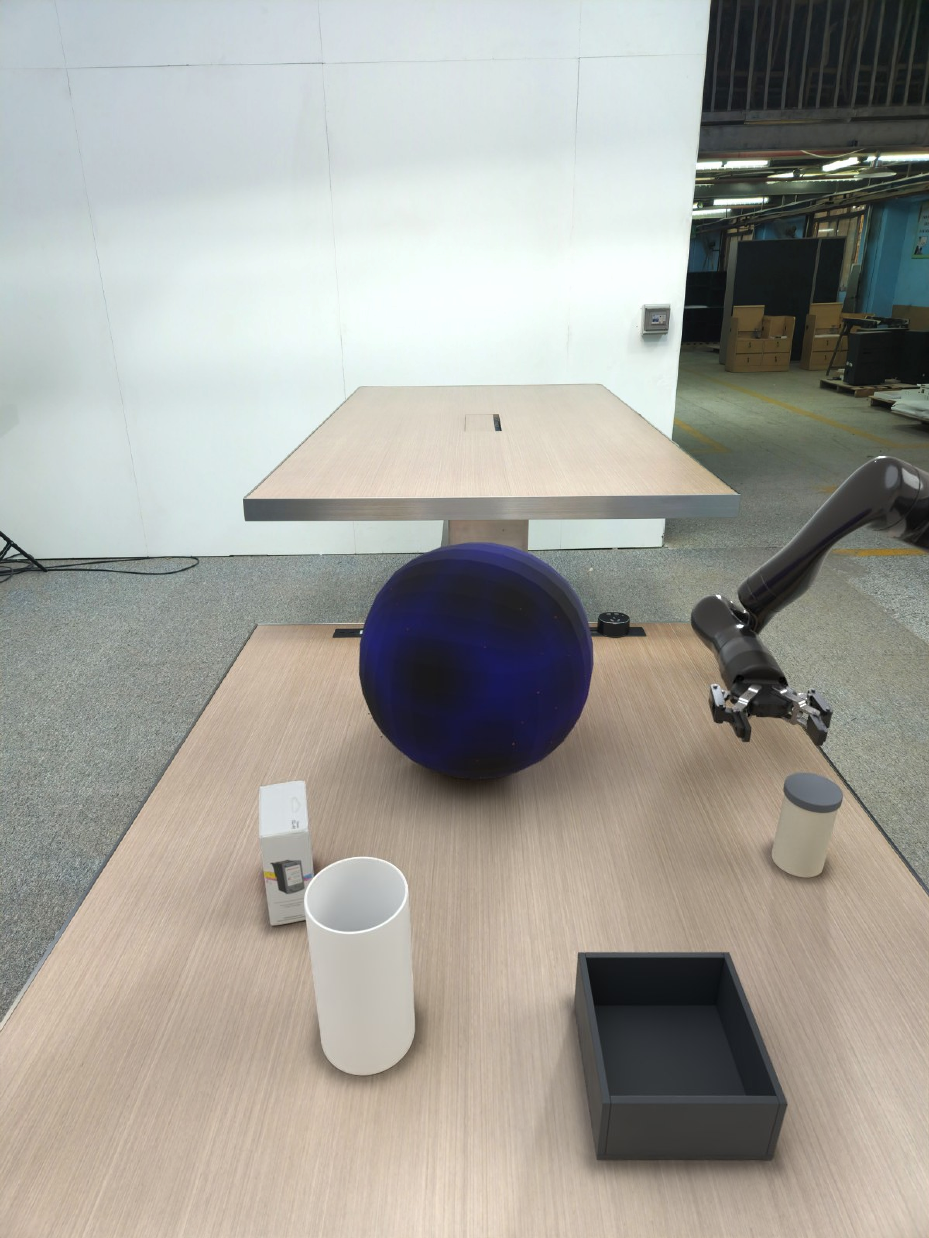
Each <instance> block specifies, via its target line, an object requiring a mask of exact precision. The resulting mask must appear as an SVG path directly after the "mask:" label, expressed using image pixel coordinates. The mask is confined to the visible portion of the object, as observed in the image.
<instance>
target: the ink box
mask: <svg viewBox="0 0 929 1238" xmlns="http://www.w3.org/2000/svg"><path fill="white" fill-rule="evenodd" d="M258 791H259V792H258V795H259V796H258V837H259V838H258V839H259V846H260V853H261V862H262V870H263V877H264V884H265V885H264V886H265V893H266V901H267V908H268V917H269V924H270V926H281V925H285V924H290V923H297V922H302V921H306V916H305V908H304V897H305V892H306V889H307V887H308V885H309V883H310V882H311V880H312V879H313V878H314V877H315V872H314V859H313V849H312V840H311V839H312V838H311V827H310V818H309V807H308V799H307V798H308V797H307V788H306V781H305V780H303V779H302V780H301V779H300V780H292V781H286V782H281V783H271V784H265V785H260V786H259V790H258Z"/></svg>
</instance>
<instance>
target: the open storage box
mask: <svg viewBox="0 0 929 1238" xmlns="http://www.w3.org/2000/svg"><path fill="white" fill-rule="evenodd" d="M574 986H575V987H574V999H573V1009H574V1015H575V1020H576V1028H577V1029H576V1030H577V1035H578V1042H579V1048H580V1056H581V1063H582V1070H583V1076H584V1077H583V1078H584V1082H585V1083H584V1084H585V1091H586V1097H587V1104H588V1111H589V1117H590V1124H591V1125H590V1126H591V1131H592V1139H593V1146H594V1152H595V1159H596V1160H602V1161H604V1160H611V1161H612V1160H613V1161H614V1160H615V1161H617V1160H620V1161H622V1160H625V1161H626V1160H627V1161H628V1160H632V1161H634V1160H639V1161H641V1160H642V1161H643V1160H644V1161H645V1160H650V1161H653V1160H654V1161H655V1160H656V1161H658V1160H659V1161H661V1160H662V1161H665V1160H666V1161H669V1160H670V1161H671V1160H672V1161H676V1160H677V1161H679V1160H680V1161H681V1160H683V1161H687V1160H688V1161H691V1160H693V1161H694V1160H695V1161H697V1160H698V1161H702V1160H703V1161H705V1160H706V1161H707V1160H709V1161H710V1160H711V1161H717V1160H718V1161H732V1160H733V1161H739V1160H740V1161H742V1160H744V1161H772V1160H773V1159H774V1156H775V1152H776V1148H777V1145H778V1141H779V1137H780V1134H781V1131H782V1127H783V1122H784V1120H785V1115H786V1113H787V1112H786V1111H787V1108H788V1105H789V1104H788V1103H789V1102H788V1100H787V1098H786V1095H785V1093H784V1090H783V1088H782V1086H781V1083H780V1080H779V1077H778V1074H777V1071H776V1069H775V1068H774V1065H773V1062H772V1059H771V1056H770V1054H769V1052H768V1049H767V1046H766V1044H765V1042H764V1039H763V1036H762V1034H761V1031H760V1028H759V1026H758V1023H757V1020H756V1018H755V1016H754V1013H753V1010H752V1007H751V1005H750V1002H749V999H748V997H747V995H746V992H745V989H744V987H743V984H742V982H741V979H740V976H739V974H738V971H737V969H736V966H735V963H734V961H733V958H732V956H731V953H730V952H729V951H723V952H722V951H585V952H584V951H578V952H577V963H576V973H575V985H574Z"/></svg>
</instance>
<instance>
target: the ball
mask: <svg viewBox="0 0 929 1238" xmlns="http://www.w3.org/2000/svg"><path fill="white" fill-rule="evenodd" d="M502 531H503V532H504V531H505V529H502ZM363 623H364V624H363V628H362V631H361V636H360V640H359V656H358V657H359V658H358V677H359V683H360V688H361V693H362V696H363V698H364V701H365V704H366V706H367V708H368V711H369V712H368V713H367V715H371V718H370V719H372V720H373V721H374V723H375V725H376V726H377V727H378V729H379V731H380V732H381V733H382V735H383V736H384V737H385V738H386V739H387V740H388V741H389V742H390V744H391V745H393V746H394V748H396V750H398V751H399V752H400V753H401V754H403V755H404V756H405V757H407V758H408V759H409V760H411V761H412V762H414V763H415V764H418V765H420V766H421V767H424V768H425V769H427V770H429V771H433V772H436V773H437V774H438V773H439V774H441V775H446V776H448V777H454V778H458V779H459V778H461V779H470V780H471V779H472V780H484V779H496V778H498V779H499V778H502V777H505V776H508V775H513V774H517V773H519V772H521V771H523V770H526V769H528V768H531V767H532V766H534V765H536V764H538V763H540V762H542V761H543V760H545V758H546V757H548V756H549V755H550V754H552V753H553V752H554V751H555V750H556V749H557V748H559V747H560V746H561V745H562V744H563V743H564V742H565V740H566V739H567V737H568V736H569V735H570V733H571V732H572V730H573V729H574V728H575V726H576V725H577V723H578V721H579V719H580V717H581V715H582V713H583V710H584V708H585V705H586V703H587V700H588V697H589V693H590V688H591V682H592V676H593V670H594V666H595V665H594V663H595V662H594V642H593V637H592V633H591V628H590V624H589V620H588V615H587V613H586V610H585V609H584V605H583V604H582V601H581V599H580V597H579V595H578V594H577V593H576V591H575V590H574V589H573V587H572V586H571V585H570V583H569V581H568V580H567V579H566V578H564V576H562V575H561V574H560V572H558V571H557V570H555V568H554V567H552V565H550V564H549V563H546V562H545V561H543V560H542V559H540V558H539V557H537V556H535V555H534V554H532V553H529V552H526V551H524V550H521V549H519V548H516V547H514V546H511V545H504V544H500V543H495V542H487V541H486V542H478V541H477V542H476V541H475V542H474V541H473V542H471V541H469V542H462V543H456V544H451V545H445V546H439V547H437V548H434V549H432V550H429V551H427V552H424V553H421V554H420V555H418V556H416V557H414V558H412V559H411V560H409V561H408V562H406V563H405V564H404V565H402V566H400V568H397V570H395V571H394V573H393V574H392V575H391V577H389V579H388V580H387V581H386V583H385V584H384V585H383V586H382V588H380V590H379V591H378V593H377V594H376V595H375V598H374V599H373V601H372V604H371V607H370V608H369V611H368V613H367V616H366V619H365V621H364V622H363ZM383 736H380V739H381V738H383Z"/></svg>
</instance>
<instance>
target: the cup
mask: <svg viewBox="0 0 929 1238" xmlns="http://www.w3.org/2000/svg"><path fill="white" fill-rule="evenodd" d="M304 908H305V916H306V920H305V925H306V931H307V939H308V949H309V955H310V963H311V971H312V972H311V973H312V979H313V986H314V996H315V1004H316V1011H317V1020H318V1027H319V1035H320V1036H319V1037H320V1043H321V1048H322V1050H323V1054H324V1056H325V1057H326V1058H327V1060H328V1061H329V1062H330V1063H331V1064H332V1066H334V1067H335V1068H337V1069H338V1070H340V1071H341V1072H344V1073H345V1074H349V1075H353V1076H354V1075H355V1076H371V1075H375V1074H379V1073H382V1072H385V1071H386V1070H388V1069H391V1067H392V1068H393V1066H395V1065H397V1063H399V1062H400V1061H401V1060H402V1059H403V1058H404V1056H405V1055H406V1054H407V1053H408V1051H409V1050H410V1047H411V1046H412V1043H413V1041H414V1037H415V1033H416V1019H415V1018H416V1017H415V1016H416V1015H415V997H414V996H415V995H414V977H413V975H414V974H413V958H412V957H413V956H412V955H413V954H412V934H411V913H410V912H411V911H410V894H409V886H408V882H407V879H406V877H405V875H404V873H403V872H402V871H401V870H400V869H399V868H398V867H397V866H395V865H394V864H393V863H391V862H389V861H387V860H384V859H381V858H378V857H372V856H355V857H348V858H343V859H340V860H338V861H335V862H333V863H331V864H329V865H327V866H326V867H323V868H322V869H321V870H320V871H319V872H318V873H316V875H314V878H313V879H312V880H311V882H310V883H309V885H308V887H307V889H306V892H305V897H304Z"/></svg>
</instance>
